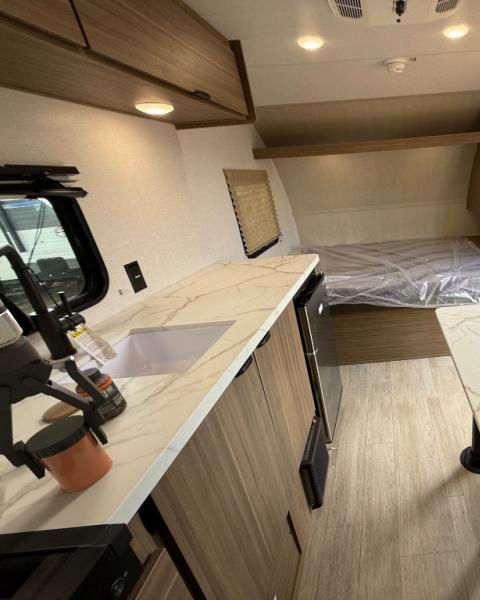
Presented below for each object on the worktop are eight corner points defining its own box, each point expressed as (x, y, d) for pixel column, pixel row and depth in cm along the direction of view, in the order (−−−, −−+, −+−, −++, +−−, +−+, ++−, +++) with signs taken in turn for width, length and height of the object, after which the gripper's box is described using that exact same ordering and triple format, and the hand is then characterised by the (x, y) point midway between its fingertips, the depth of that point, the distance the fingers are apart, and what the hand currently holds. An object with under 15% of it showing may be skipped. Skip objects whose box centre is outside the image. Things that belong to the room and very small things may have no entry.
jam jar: (53, 493, 55) (17, 452, 51) (90, 458, 61) (60, 419, 57) (88, 492, 54) (54, 450, 50) (121, 457, 60) (94, 418, 56)
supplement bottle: (100, 409, 74) (74, 370, 70) (130, 399, 77) (107, 360, 72) (91, 426, 70) (62, 385, 65) (124, 414, 72) (98, 374, 67)
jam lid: (19, 467, 49) (12, 459, 49) (43, 434, 56) (37, 426, 55) (81, 445, 52) (75, 437, 51) (97, 415, 58) (92, 408, 58)
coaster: (34, 422, 73) (32, 419, 73) (69, 397, 80) (67, 395, 80) (65, 420, 72) (63, 417, 72) (97, 396, 80) (95, 393, 79)
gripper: (-146, 397, 37) (-16, 517, 47) (82, 322, 50) (148, 428, 60) (-124, 374, 42) (-10, 487, 52) (79, 312, 55) (140, 411, 64)
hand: (74, 456), depth 56 cm, fingers closed on jam lid, 8 cm apart
